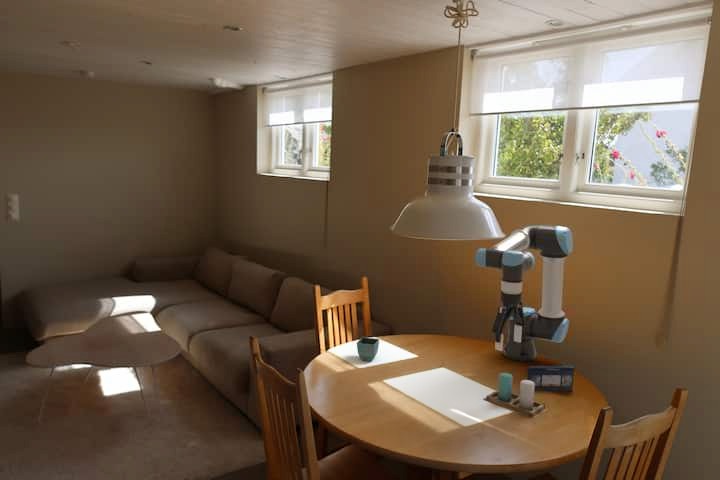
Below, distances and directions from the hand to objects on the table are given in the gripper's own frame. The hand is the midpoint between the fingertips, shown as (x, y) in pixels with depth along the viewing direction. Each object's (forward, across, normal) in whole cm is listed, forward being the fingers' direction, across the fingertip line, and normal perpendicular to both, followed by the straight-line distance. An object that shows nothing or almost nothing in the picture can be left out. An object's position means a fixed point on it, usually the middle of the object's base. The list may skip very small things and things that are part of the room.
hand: (508, 345), depth 197 cm
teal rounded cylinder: (+22, +1, 0) cm, 22 cm away
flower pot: (+23, +9, -67) cm, 72 cm away
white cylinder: (+22, +1, +9) cm, 24 cm away
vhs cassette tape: (+23, -23, +7) cm, 34 cm away
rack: (+23, +1, +5) cm, 23 cm away
